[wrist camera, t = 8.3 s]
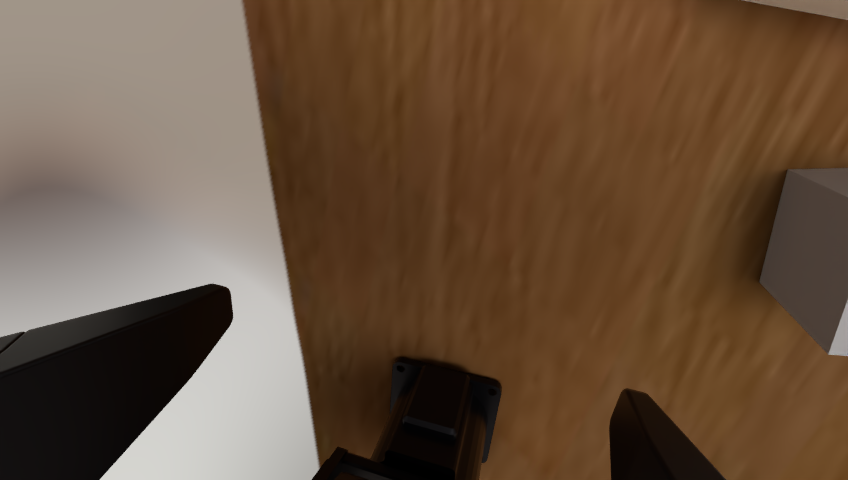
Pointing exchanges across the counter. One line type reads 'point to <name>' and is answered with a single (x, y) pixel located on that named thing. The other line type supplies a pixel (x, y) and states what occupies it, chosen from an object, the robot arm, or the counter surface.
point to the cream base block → (812, 6)
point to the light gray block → (812, 254)
